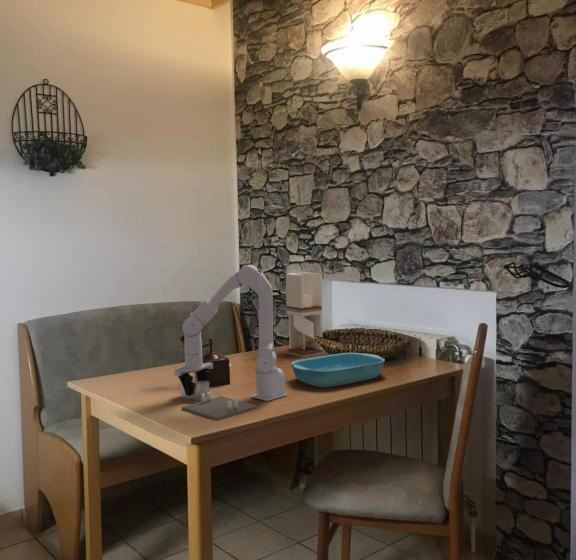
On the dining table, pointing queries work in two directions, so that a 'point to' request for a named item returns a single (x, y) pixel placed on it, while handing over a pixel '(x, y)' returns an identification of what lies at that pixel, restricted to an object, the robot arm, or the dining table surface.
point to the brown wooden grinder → (215, 366)
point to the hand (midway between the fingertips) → (194, 393)
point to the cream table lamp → (304, 313)
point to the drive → (196, 389)
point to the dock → (218, 407)
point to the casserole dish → (338, 369)
